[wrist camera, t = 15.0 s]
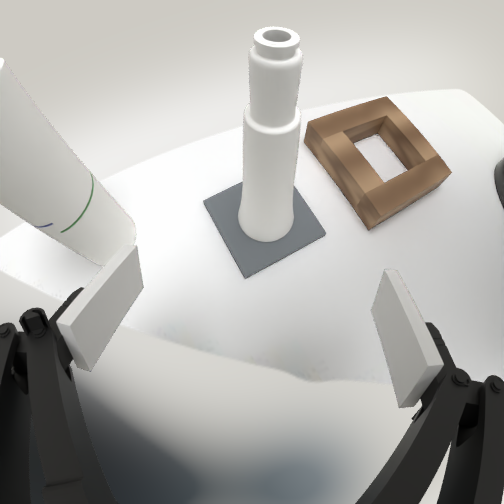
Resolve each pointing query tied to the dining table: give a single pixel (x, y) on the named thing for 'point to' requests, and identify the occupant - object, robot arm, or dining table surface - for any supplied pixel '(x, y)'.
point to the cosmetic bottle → (271, 135)
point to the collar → (361, 172)
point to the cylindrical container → (54, 181)
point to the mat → (252, 251)
